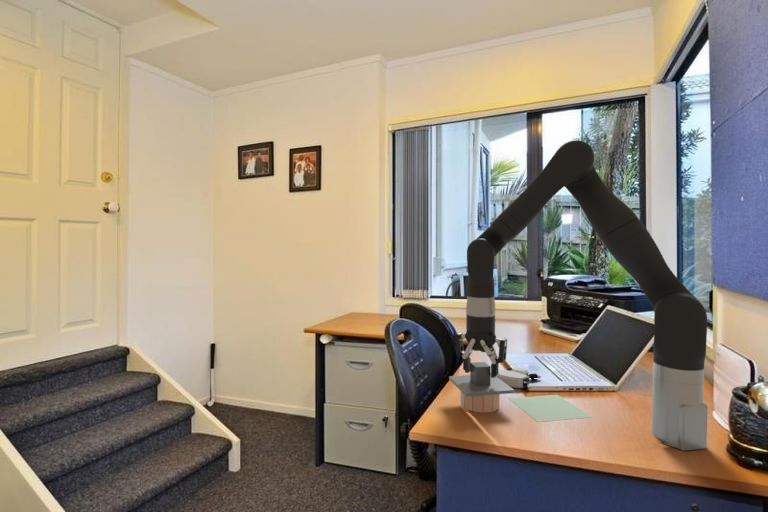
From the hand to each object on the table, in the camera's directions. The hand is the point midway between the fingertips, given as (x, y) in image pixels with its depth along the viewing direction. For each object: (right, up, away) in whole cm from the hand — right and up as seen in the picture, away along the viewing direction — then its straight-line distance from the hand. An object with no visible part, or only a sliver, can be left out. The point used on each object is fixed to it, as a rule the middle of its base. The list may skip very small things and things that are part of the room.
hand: (480, 374), depth 110 cm
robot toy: (+15, -9, +18) cm, 25 cm away
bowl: (0, -9, 0) cm, 9 cm away
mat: (+18, -9, -2) cm, 20 cm away
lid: (0, -3, 0) cm, 3 cm away
